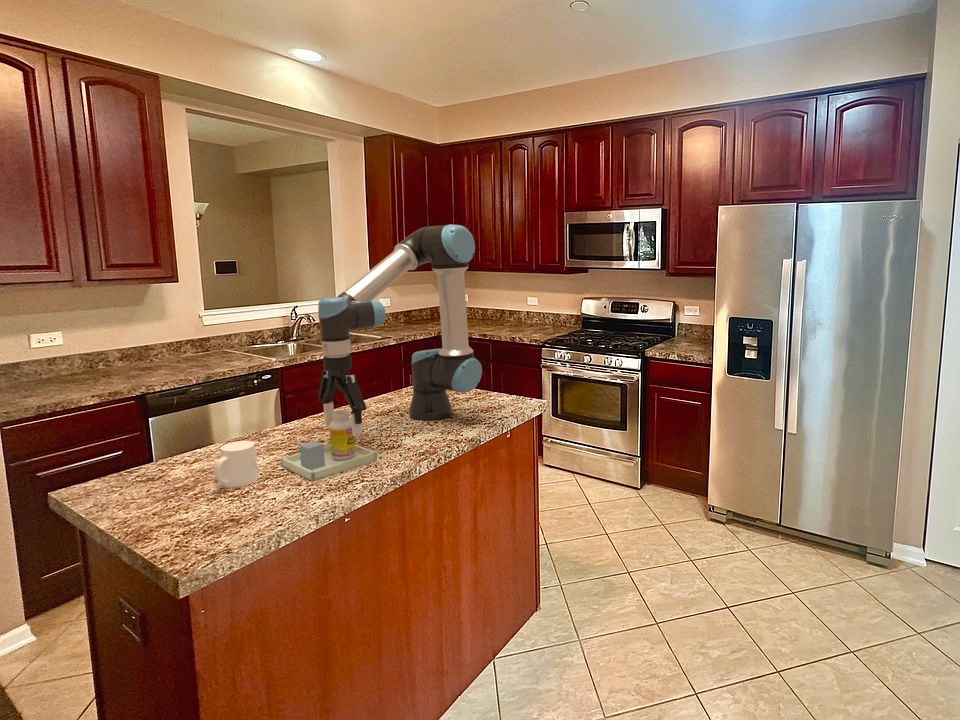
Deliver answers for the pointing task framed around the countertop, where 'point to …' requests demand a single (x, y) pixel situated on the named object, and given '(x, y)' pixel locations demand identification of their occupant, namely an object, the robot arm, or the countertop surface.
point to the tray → (329, 463)
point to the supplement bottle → (342, 436)
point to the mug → (237, 464)
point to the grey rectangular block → (312, 455)
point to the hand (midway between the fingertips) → (343, 430)
